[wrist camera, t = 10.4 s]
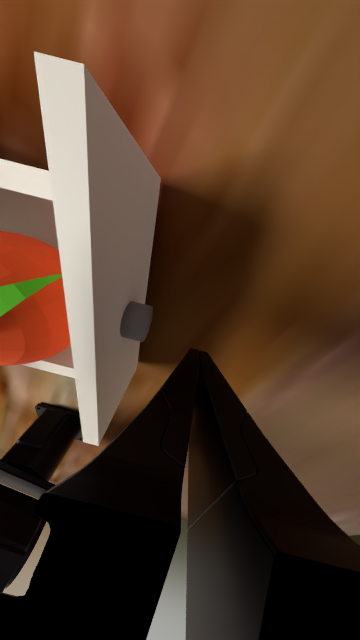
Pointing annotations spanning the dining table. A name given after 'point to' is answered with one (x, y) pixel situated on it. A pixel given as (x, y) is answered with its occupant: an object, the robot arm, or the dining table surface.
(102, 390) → the drawer
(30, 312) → the clementine
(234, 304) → the dining table surface
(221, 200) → the dining table surface
